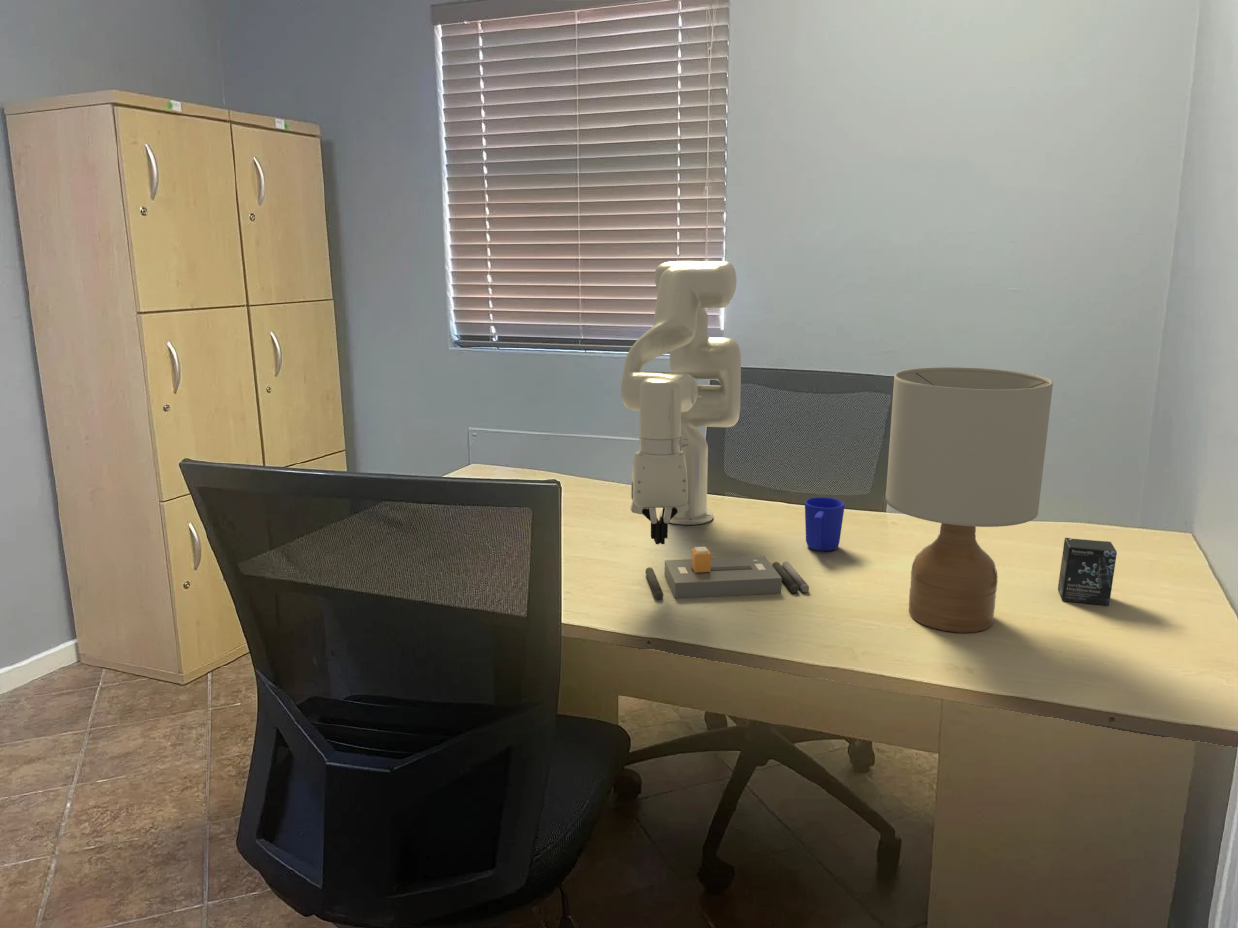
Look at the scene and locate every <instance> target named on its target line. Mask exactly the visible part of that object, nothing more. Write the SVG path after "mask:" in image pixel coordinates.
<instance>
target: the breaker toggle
mask: <svg viewBox="0 0 1238 928" xmlns="http://www.w3.org/2000/svg"><path fill="white" fill-rule="evenodd" d="M690 557H691V558H690V559H691V566H692V568H693V570H694V572H695V573H698V572H711V557H712V553H711V552H710V549H708V547H706V546H694V547H691V556H690Z"/></svg>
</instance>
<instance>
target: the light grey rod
mask: <svg viewBox="0 0 1238 928" xmlns="http://www.w3.org/2000/svg"><path fill="white" fill-rule="evenodd" d="M781 566H782V567H783V568H784V569H785V571H786V572H787V573H788V574H789V576H790V577H791V578H792V579H793V581H794V582H795V583H796V584H797V586H798V587H799V590H800V591H801V592H803V593H808V592H809V590H810V586H809V584H808V583H807V582H806V581H805V580H804V579H803V577H802V576H801V575H800V574H799V573H798V571H797V569H796V568H794V566H792V564H791V563H790V562H789V561H786V560H785V561H783V562H782V564H781Z"/></svg>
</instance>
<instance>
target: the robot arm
mask: <svg viewBox="0 0 1238 928" xmlns="http://www.w3.org/2000/svg"><path fill="white" fill-rule="evenodd" d="M654 283H655V287H656V290H657V296H656V303H655V310H654V317H653V318H654V319H653V325H652V327H650V328H649V329H648V330H647V331H646V332H644V333H643V334H641V336H640V337H639V338H637V340H636V341H635V342H634V343H633V344H632V346H631V347H630V349H629V350H628V352H627V355H626V357H625V360H624V365H623V371H622V377H621V384H620V397H621V398H620V399H621V402H622V404H623V405H624V407H625V408H626V409H628V410H630V411H634V412H639V451H635V452H634V457H633V462H632V463H633V464H632V468H631V469H632V470H631V472H632V473H631V488H630V498H631V500H632V501H631V505H630V512H631V513H633V514H637V515H642V516H644V517H645V518H646V519H647V520H649V522H650V539H652V540H653V541H654V543H655V545H665V539H668V536H669V534H668V533H669V531H668V530H669V526H668V525H669V524H675V525H685V526H692V525H700V524H705V523H706V524H707V523H709V522H710V521H712V520H713V518H714V512H713V511H712V510H711V509H709V508H708V507H707V506H708V466H709V465H708V462H709V460H708V459H709V456H708V455H709V454H708V453H709V447H708V446H709V445H708V441H707V440H706V438H705V436H704V435H703V434H702V432H701V431H700V430H699V428H702V427H706V428H708V427H709V428H710V427H711V428H731V427H734V426H735V425H736V424H737V423H738V421H739V419H740V415H741V414H740V413H741V394H742V393H741V388H742V387H741V385H742V383H741V382H742V379H741V377H742V355H741V349H740V345H739V344H738V342H737V341H736V340H735V339H734V338H733V339H732V338H731V337H730V338H729V337H719V336H718V337H714V336H713V337H712V336H709V332H708V329H709V328H708V322H709V321H708V320H709V317H708V313H707V310H706V309H709V308H710V309H723V308H726V307H727V306H728V305H729V304H730V303H731V301H732V299H733V297H734V295H735V292H736V290H737V289H736V288H737V272H736V269H735V266H734V265H733V264H732V263H731V262H729V261H719V260H711V261H709V260H705V261H702V260H701V261H700V260H675V261H666V262H663V263H661V264H658V266H656V268H655V271H654ZM668 353H669V367H670V368H669V369H670V371H642V369H643V367H644V366H646V364H648V363H649V362H650V361H653V360H654V359H656V358H658V357H660V356H663V355H665V354H668ZM696 380H698V381H699V380H702V381H703V380H705V381H706V380H707V381H717V382H718V383H719V384H720V385H719V384H718V385H717V384H698V383H697V382H696ZM657 508H659V509H660V508H661V510H660V511H659V518H658V515H657Z"/></svg>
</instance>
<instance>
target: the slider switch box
mask: <svg viewBox="0 0 1238 928" xmlns="http://www.w3.org/2000/svg"><path fill="white" fill-rule="evenodd" d="M772 565H773V564H771V562H770V561H769V560H768V558H767V556H765V555H759V556H758V555H757V556H756V555H755V556H752V555H751V556H732V557H731V556H730V557H712V558H711V572H698V573H695V572H694V570H693V568H692V566H691V558H690V559H689V558H687V559H665V560H664V577H665V579H666V580H667V583H668V586H669V588H670V590H671V592H672V594H673V597H674V599H686V598H687V599H689V598H691V599H693V598H710V597H729V596H730V597H732V596H748V595H750V596H751V595H755V596H756V595H771V594H775V595H776V594H782V585H783V584H782V581H783V580H782V578H781V576H780V575H779V574H778V573H777V571H776V570H775V569H774V567H773V566H772Z"/></svg>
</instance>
